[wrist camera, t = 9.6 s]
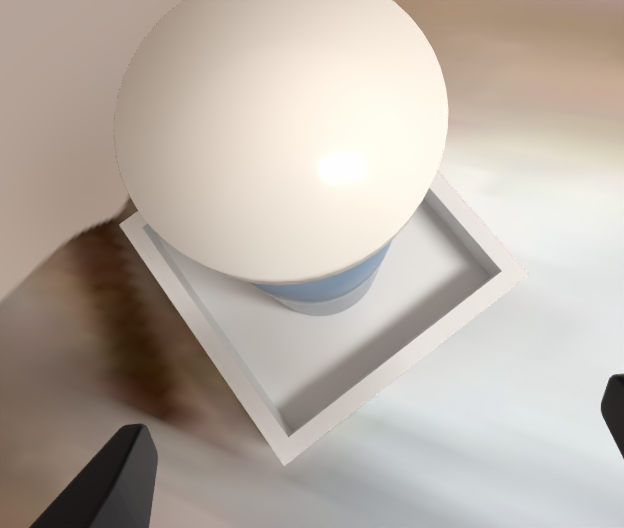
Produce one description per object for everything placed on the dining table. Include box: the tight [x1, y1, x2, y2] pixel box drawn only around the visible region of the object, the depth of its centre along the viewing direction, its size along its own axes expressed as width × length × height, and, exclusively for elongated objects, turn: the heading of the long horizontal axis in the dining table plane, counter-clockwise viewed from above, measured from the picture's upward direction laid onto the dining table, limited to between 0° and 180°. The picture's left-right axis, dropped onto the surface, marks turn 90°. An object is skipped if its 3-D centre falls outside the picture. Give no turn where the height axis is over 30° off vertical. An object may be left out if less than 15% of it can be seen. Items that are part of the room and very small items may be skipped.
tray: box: [119, 170, 529, 466], centre depth 21 cm, size 13×13×2 cm
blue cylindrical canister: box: [114, 0, 448, 316], centre depth 15 cm, size 6×6×14 cm
